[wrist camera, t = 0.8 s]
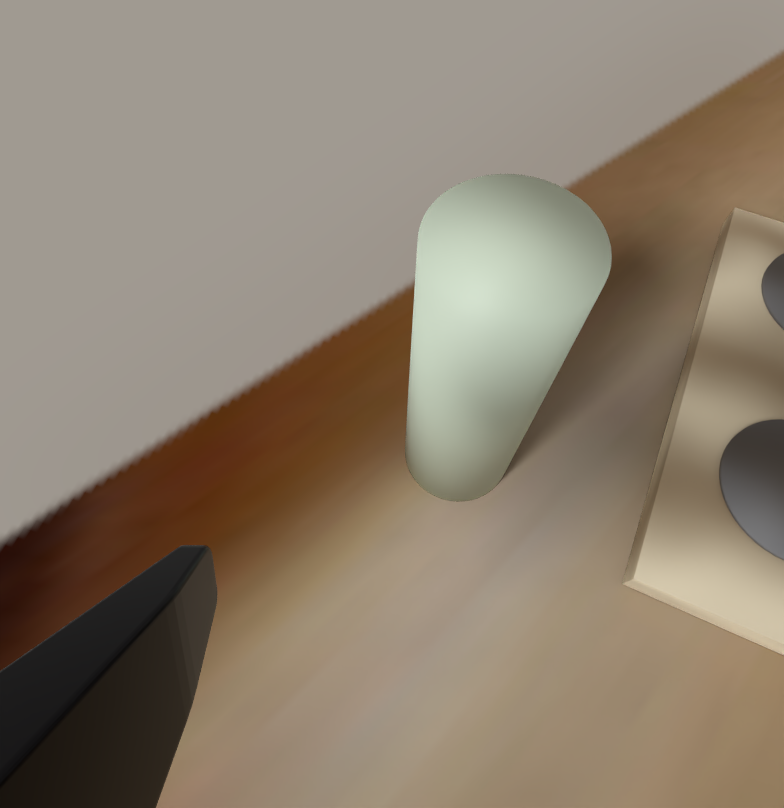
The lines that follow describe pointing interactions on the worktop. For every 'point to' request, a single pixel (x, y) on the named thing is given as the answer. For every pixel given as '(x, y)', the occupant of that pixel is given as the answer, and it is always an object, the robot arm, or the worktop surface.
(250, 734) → the worktop surface
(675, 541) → the board
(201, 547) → the robot arm
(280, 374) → the worktop surface
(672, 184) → the worktop surface
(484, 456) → the sage pin
